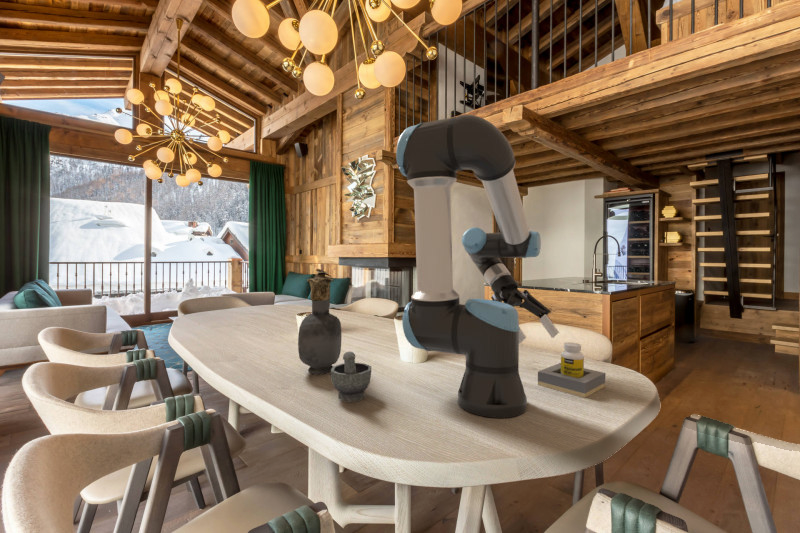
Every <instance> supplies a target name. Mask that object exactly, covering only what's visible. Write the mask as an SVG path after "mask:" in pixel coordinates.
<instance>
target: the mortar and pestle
mask: <svg viewBox="0 0 800 533" xmlns="http://www.w3.org/2000/svg"><path fill="white" fill-rule="evenodd" d="M342 360H344V362H343V363H340V364H336V365H334V366H333V367H332V369H331V372H330V381H331V384H332V385H333V387H334V389H335V390H336V391H338V400H340V401H341V402H346V401H347V403H351V402H352V403H354V402H359V401H361V400H364V399H365V390H366V389H367V388H368V387H369V384H370V383H371V377H372V366H371V365H369V364H367V363H363V362H360V363H359V362H356V354H355V353H354V352H353V351H346V352H345V353H343V355H342ZM353 401H354V402H353Z"/></svg>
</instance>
